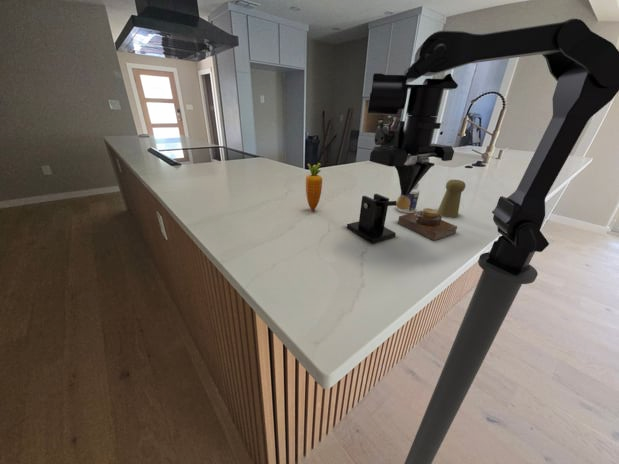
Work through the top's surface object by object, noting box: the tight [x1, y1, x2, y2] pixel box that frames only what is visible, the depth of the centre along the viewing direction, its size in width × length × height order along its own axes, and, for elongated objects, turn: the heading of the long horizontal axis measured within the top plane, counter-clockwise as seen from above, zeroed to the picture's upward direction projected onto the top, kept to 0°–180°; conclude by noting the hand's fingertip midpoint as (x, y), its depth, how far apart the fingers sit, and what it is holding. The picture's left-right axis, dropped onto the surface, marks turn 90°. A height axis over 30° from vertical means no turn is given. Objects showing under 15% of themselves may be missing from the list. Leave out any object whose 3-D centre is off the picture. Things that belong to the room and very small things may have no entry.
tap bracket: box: [346, 193, 396, 244], centre depth 65 cm, size 10×8×10 cm
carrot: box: [305, 162, 323, 212], centre depth 77 cm, size 5×5×15 cm
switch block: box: [397, 210, 458, 241], centre depth 70 cm, size 12×9×4 cm
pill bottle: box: [397, 181, 421, 214], centre depth 81 cm, size 5×5×10 cm
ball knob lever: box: [374, 196, 410, 210], centre depth 60 cm, size 12×3×3 cm, turn 30°
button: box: [421, 207, 438, 218], centre depth 69 cm, size 4×4×2 cm
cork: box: [436, 179, 466, 219], centre depth 79 cm, size 6×6×11 cm
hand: (404, 194), depth 55 cm, fingers closed
